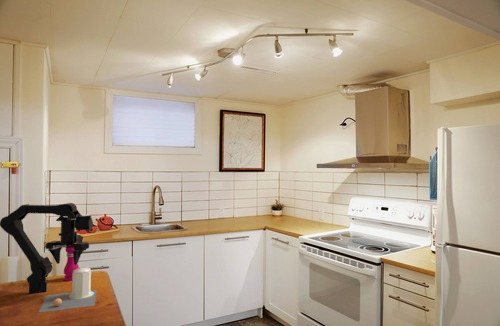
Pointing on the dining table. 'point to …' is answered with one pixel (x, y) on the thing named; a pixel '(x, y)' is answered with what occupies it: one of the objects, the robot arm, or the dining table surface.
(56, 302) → the ball
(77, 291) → the salt shaker
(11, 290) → the dining table surface
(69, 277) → the pepper mill
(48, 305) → the board
